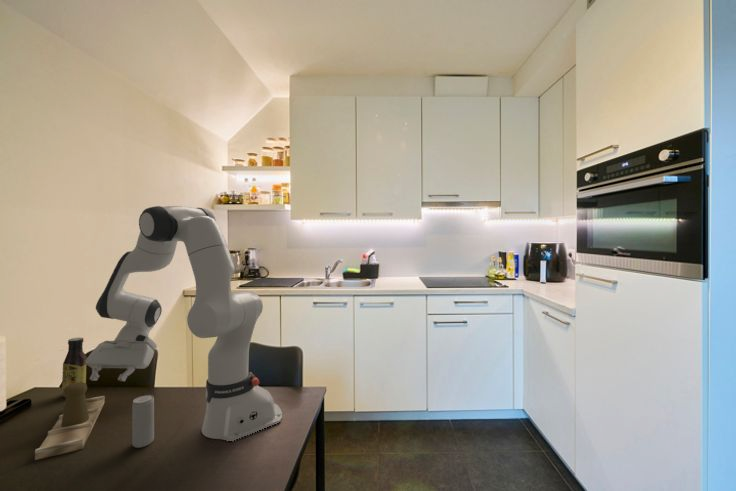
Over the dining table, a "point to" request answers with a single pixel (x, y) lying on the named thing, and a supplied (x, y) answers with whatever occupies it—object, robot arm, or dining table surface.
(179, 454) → the dining table surface
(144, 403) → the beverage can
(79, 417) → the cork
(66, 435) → the ledge board
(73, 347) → the sauce bottle
